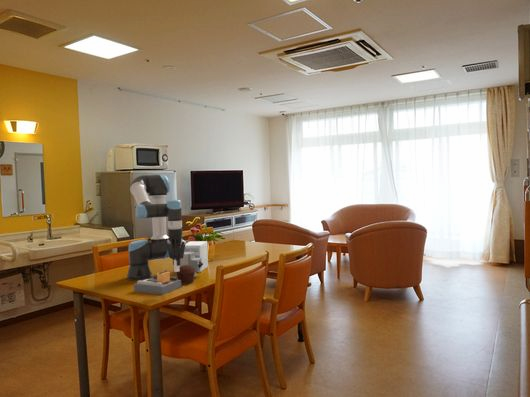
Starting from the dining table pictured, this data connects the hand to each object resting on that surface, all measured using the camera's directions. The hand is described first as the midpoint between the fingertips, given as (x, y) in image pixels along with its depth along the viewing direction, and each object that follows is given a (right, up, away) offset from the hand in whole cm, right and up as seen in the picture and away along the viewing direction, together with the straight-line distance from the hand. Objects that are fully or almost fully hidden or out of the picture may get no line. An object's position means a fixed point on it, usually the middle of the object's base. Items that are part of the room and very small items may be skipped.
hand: (176, 271), depth 220 cm
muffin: (+1, -10, +20) cm, 23 cm away
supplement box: (+1, -9, +55) cm, 55 cm away
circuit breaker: (+2, -10, +34) cm, 36 cm away
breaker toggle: (-8, -6, +5) cm, 12 cm away
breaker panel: (-12, -11, +7) cm, 18 cm away
